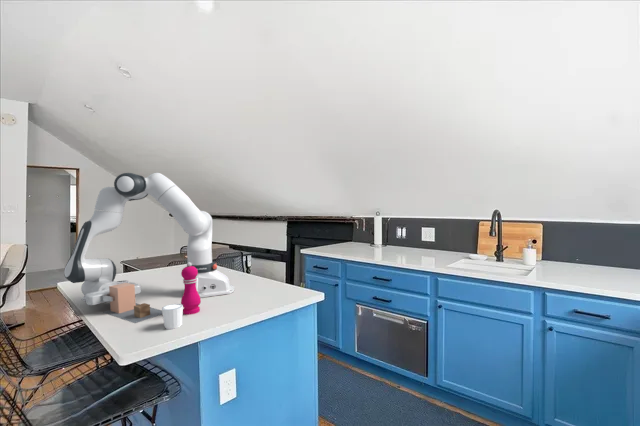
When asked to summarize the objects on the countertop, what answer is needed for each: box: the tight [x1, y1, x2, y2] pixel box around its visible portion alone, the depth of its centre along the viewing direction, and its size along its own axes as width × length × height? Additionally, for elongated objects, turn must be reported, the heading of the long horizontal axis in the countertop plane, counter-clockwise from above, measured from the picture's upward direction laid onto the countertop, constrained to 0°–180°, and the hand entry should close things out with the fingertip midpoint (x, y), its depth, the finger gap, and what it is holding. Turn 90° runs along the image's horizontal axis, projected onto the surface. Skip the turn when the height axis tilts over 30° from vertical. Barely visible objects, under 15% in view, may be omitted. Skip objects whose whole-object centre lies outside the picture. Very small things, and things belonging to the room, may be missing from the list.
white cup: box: [161, 303, 184, 330], centre depth 118 cm, size 7×7×7 cm
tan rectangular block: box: [109, 283, 136, 313], centre depth 136 cm, size 7×7×10 cm
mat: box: [103, 302, 163, 324], centre depth 133 cm, size 24×13×1 cm, turn 57°
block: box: [134, 302, 151, 318], centre depth 128 cm, size 4×4×4 cm
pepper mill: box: [180, 261, 202, 316], centre depth 131 cm, size 7×7×20 cm
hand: (123, 296), depth 135 cm, fingers closed on tan rectangular block, 7 cm apart
